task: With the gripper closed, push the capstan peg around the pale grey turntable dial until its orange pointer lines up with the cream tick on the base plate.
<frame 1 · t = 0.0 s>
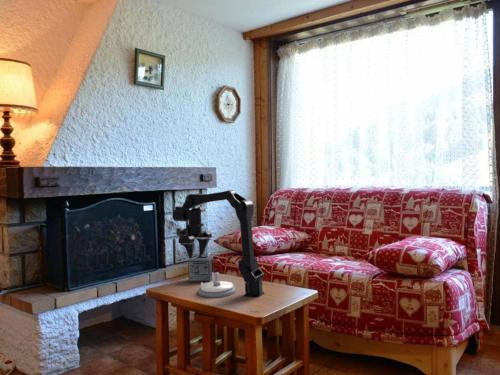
hand: (196, 256, 190), 15 cm above the table, tool pointing down, fingers open, 9 cm apart
small box: (200, 280, 206), on the table
base plate: (217, 292, 184), on the table
dial: (216, 282, 184), point 4 cm above the table, hinge at -60.0°
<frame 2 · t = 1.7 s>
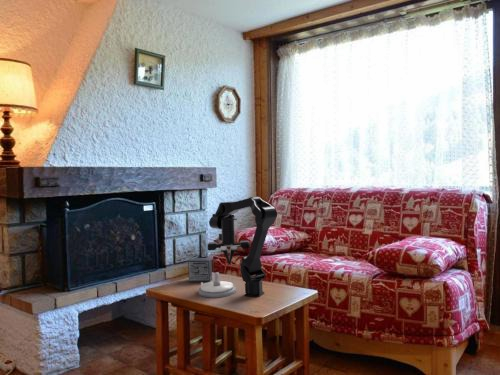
hand: (229, 264, 190), 11 cm above the table, tool pointing down, fingers closed
nothing on the table moved.
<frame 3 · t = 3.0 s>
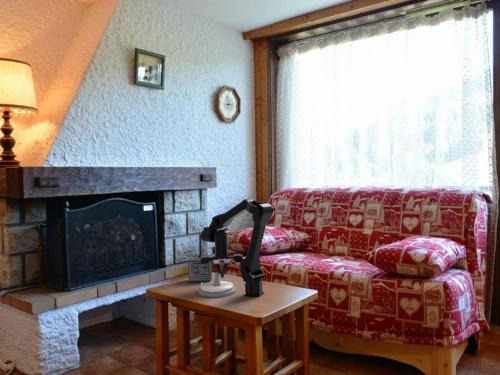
hand: (222, 277, 190), 5 cm above the table, tool pointing down, fingers closed
dial: (216, 282, 184), point 4 cm above the table, hinge at -60.0°, touching gripper
everything else where it was.
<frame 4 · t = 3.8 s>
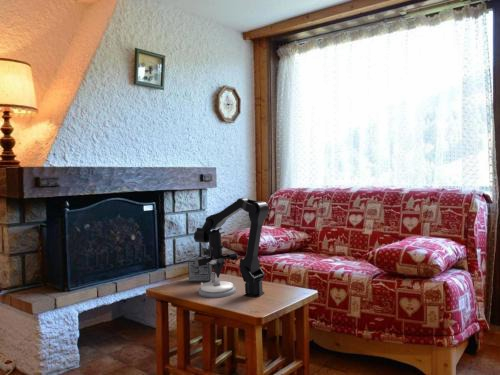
hand: (217, 277, 191), 5 cm above the table, tool pointing down, fingers closed
dial: (216, 282, 184), point 4 cm above the table, hinge at -45.2°, touching gripper
everything else where it was.
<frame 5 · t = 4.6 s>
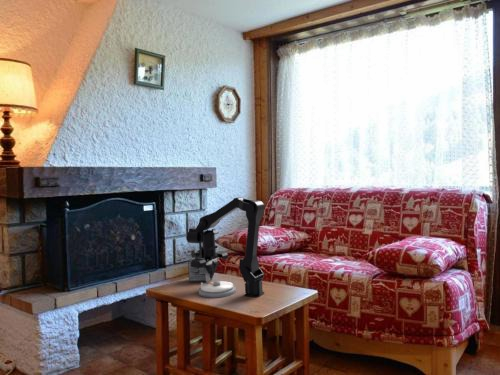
hand: (211, 278, 190), 5 cm above the table, tool pointing down, fingers closed
dial: (216, 282, 184), point 4 cm above the table, hinge at -18.4°, touching gripper
everything else where it was.
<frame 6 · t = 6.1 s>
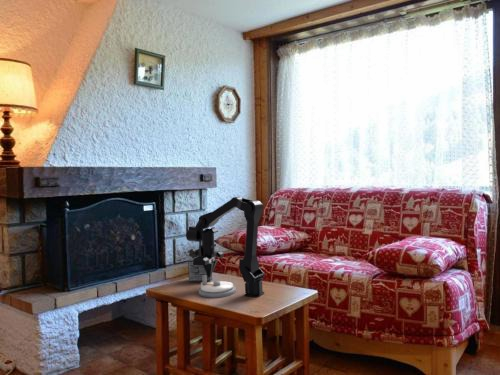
hand: (209, 276, 191), 5 cm above the table, tool pointing down, fingers closed
dial: (216, 282, 184), point 4 cm above the table, hinge at 3.5°
everything else where it was.
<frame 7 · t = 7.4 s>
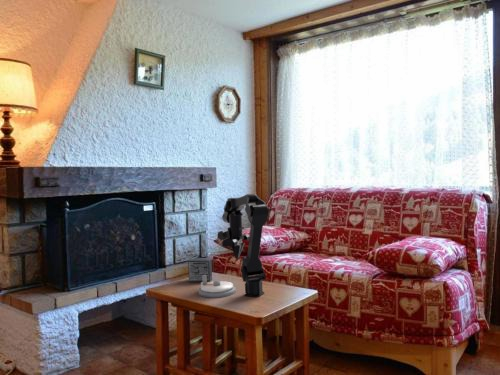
hand: (237, 258, 195), 12 cm above the table, tool pointing down, fingers closed
nothing on the table moved.
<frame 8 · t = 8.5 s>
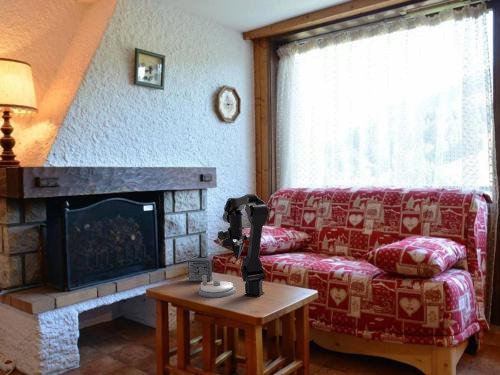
hand: (237, 258, 195), 12 cm above the table, tool pointing down, fingers closed
nothing on the table moved.
at the end: dial at +4° (first picture: -60°); small box moved 0.3 cm from its start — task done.
